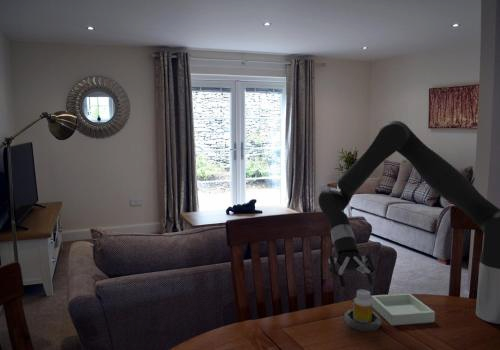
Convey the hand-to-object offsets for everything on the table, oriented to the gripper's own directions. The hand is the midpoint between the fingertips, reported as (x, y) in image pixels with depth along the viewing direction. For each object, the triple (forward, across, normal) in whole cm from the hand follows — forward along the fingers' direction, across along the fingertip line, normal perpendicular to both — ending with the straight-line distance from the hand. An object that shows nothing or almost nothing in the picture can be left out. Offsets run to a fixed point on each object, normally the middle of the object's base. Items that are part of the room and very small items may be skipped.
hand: (357, 287), depth 124 cm
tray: (+7, +15, +6) cm, 18 cm away
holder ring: (+10, 0, +3) cm, 10 cm away
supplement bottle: (+10, 0, +3) cm, 11 cm away
